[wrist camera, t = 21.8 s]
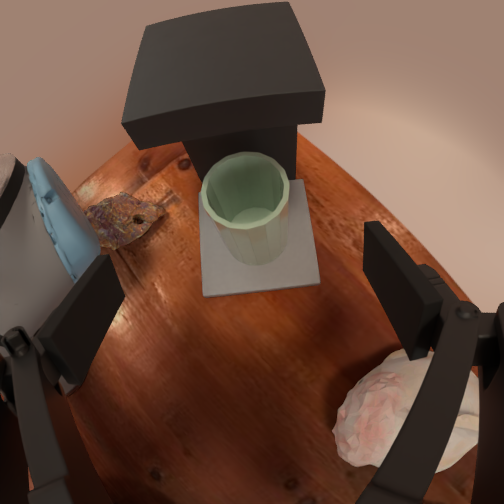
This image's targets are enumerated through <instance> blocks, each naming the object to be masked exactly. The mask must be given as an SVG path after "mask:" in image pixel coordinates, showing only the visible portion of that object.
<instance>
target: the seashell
mask: <svg viewBox="0 0 504 504" xmlns="http://www.w3.org/2000/svg"><path fill="white" fill-rule="evenodd" d="M433 354H434V352H431V351H429V353H428V356H427V357H425V358H421V359H417V360H413V361H409V358H408V356H407V354H406V352H405V350H404V349H401V350H398V351H395V352H393V353H391V354H390V355H389V356H388V357H387V358H386V359H385V360H384V362H383V363H382V364H381V365H379V366H377V367H376V368H374V369H373V370H372V371H370V372H369V373H368V374H367V375H365V376H364V377H363V378H362V379H361V380H359V381H358V382H357V384H356V385H355V387H354V388H353V389H351V390H350V391H349V392H348V393H347V397H346V399H345V401H344V403H343V404H342V406H341V407H340V408H339V409H338V414H337V422H336V424H335V426H334V428H333V430H332V432H333V433H334V435H335V441H336V444H337V451H338V454H339V457H342V459H343V460H345V461H346V462H349V463H350V464H351V465H353V466H356V467H359V466H364V465H368V464H371V465H374V466H377V467H380V465H381V463H382V462H383V460H384V458H385V457H386V455H387V453H388V451H389V450H390V448H391V446H392V444H393V442H394V440H395V439H396V437H397V435H398V433H399V431H400V429H401V427H402V425H403V423H404V421H405V419H406V417H407V415H408V413H409V411H410V409H411V407H412V405H413V402H414V400H415V398H416V396H417V394H418V391H419V389H420V387H421V384H422V382H423V380H424V377H425V375H426V372H427V370H428V367H429V365H430V362H431V360H432V357H433ZM478 433H479V380H478V378H477V377H476V376H475V374H474V373H473V372H472V371H470V375H469V379H468V383H467V386H466V390H465V393H464V397H463V400H462V403H461V407H460V410H459V413H458V416H457V419H456V422H455V425H454V428H453V430H452V433H451V436H450V438H449V441H448V444H447V446H446V449H445V451H444V454H443V456H442V458H441V461H440V463H439V465H438V468H437V470H436V472H440V471H442V470H445V469H447V468H449V467H451V466H452V465H453V464H454V463H456V462H457V461H458V460H459V459H460V458H461V457H462V456H463V455H464V454H465V453H466V452H468V451H469V450H470V449H471V448H473V447H474V446H475V445H476V444H477V443H478ZM436 472H435V473H436Z"/></svg>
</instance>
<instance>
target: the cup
mask: <svg viewBox="0 0 504 504" xmlns="http://www.w3.org/2000/svg"><path fill="white" fill-rule="evenodd" d="M201 197H202V202H203V206H204V209H205V211H206V212H207V214H208V216H209V218H210V220H211V221H212V223H213V225H214V227H215V228H216V230H217V232H218V234H219V236H220V237H221V239H222V241H223V243H224V245H225V246H226V248H227V249H228V251H229V252H230V254H231V255H232V256H233V257H234V258H235V259H237V260H238V261H240V262H242V263H244V264H247V265H254V266H257V265H264V264H267V263H270V262H272V261H273V260H275V259H276V258H277V257H279V256H280V254H281V253H282V252H283V251H284V249H285V247H286V244H287V242H288V233H289V197H290V183H289V180H288V178H287V175H286V172H285V170H284V169H283V168H282V167H281V166H280V165H279V164H278V163H277V162H276V161H275V160H274V159H273V158H271V157H269V156H266V155H264V154H262V153H259V152H239V153H236V154H232V155H228V156H226V157H224V158H223V159H221V160H220V161H219V162H217V163H216V164H214V165H213V166H212V168H211V169H210V170H209V172H208V173H207V175H206V176H205V177H204V180H203V185H202V189H201Z"/></svg>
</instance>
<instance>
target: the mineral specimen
mask: <svg viewBox="0 0 504 504" xmlns="http://www.w3.org/2000/svg"><path fill="white" fill-rule="evenodd" d="M165 211H166V210H165V209H164V208H163V207H160V206H158V205H156V204H153V203H151V202H142V201H139V200H138V199H136V198H134V197H132V196H131V195H129V194H127V193H124V192H120V194H119V195H116V196H114V197H110V198H106V199H104V200H103V201H101V202H100V203H98V204H97V205H93V206H90V207H89V208H88V209H87V210H85V211H84V214H85V215H86V217H87V219H88V220H89V222H90V223H91V225H92V227H93V229H94V230H95V232H96V234H97V237H98V239H99V242H100V247H102V246H104V247H106V248H110V249H112V250H115V249H117V248H119V247H121V246H125V245H126V244H128V243H130V242H132V241H134V240H135V239H137V238H139V237H141V236H142V235H143V234H144V233H145V232H146V231H147V230H148V229H149V227H150V226H151V225H152V222H154V221H156V220H157V218H158V217H159V216H162V215H164V214H165ZM139 218H140V219H141V220H143V221H144V222H143V223H142V224H137V220H138V219H139Z"/></svg>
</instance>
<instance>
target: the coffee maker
mask: <svg viewBox="0 0 504 504" xmlns="http://www.w3.org/2000/svg"><path fill="white" fill-rule="evenodd" d="M324 100H325V87H324V85H323V82H322V79H321V77H320V74H319V72H318V69H317V66H316V64H315V61H314V59H313V56H312V54H311V51H310V49H309V46H308V44H307V41H306V39H305V37H304V34H303V32H302V30H301V28H300V25H299V23H298V21H297V19H296V16H295V14H294V12H293V10H292V8H291V6H290V4H289V2H275V3H263V4H253V5H244V6H238V7H230V8H223V9H218V10H212V11H206V12H201V13H196V14H192V15H187V16H182V17H178V18H174V19H170V20H166V21H163V22H159V23H155V24H152V25H148V26H146V28H145V31H144V34H143V38H142V41H141V44H140V47H139V51H138V55H137V58H136V62H135V65H134V69H133V73H132V77H131V81H130V85H129V89H128V94H127V98H126V103H125V107H124V112H123V117H122V122H121V124H122V126H123V127H124V129H126V131H127V133H128V135H129V136H130V137H131V139H132V140H133V142H134V143H135V145H136V146H137V148H138V149H139V150H143V149H148V148H152V147H157V146H161V145H166V144H171V143H176V142H181V141H182V143H183V145H184V147H185V149H186V151H187V153H188V155H189V157H190V159H191V161H192V164H193V166H194V168H195V170H196V172H197V174H198V176H199V178H200V180H201V182H202V184H203V180H204V177H205V176H206V175H207V173H208V172H209V170H210V169H211V168H212V166H213V165H214V164H216V163H217V162H219V161H220V160H221V159H223V158H224V157H226V156H228V155H232V154H236V153H239V152H259V153H262V154H264V155H266V156H269V157H271V158H273V159H274V160H275V161H276V162H277V163H278V164H279V165H280V166H281V167H282V168H283V169H284V170H285V172H286V175H287V178H288V180H289V183H290V197H289V233H288V242H287V244H286V247H285V249H284V251H283V252H282V253H281V254H280V256H279V257H277V258H276V259H275V260H273V261H272V262H270V263H267V264H264V265H257V266H254V265H247V264H244V263H242V262H240V261H238V260H237V259H235V258H234V257H233V256H232V255H231V254H230V252H229V251H228V249H227V248H226V246H225V245H224V243H223V241H222V239H221V237H220V236H219V234H218V232H217V230H216V228H215V227H214V225H213V223H212V221H211V220H210V218H209V216H208V214H207V212H206V211H205V209H204V206H203V202H202V197H201V192H199V225H200V250H201V270H202V288H203V296H204V297H205V298H209V297H219V296H229V295H238V294H248V293H257V292H265V291H274V290H282V289H291V288H299V287H307V286H314V285H320V283H321V282H320V275H319V268H318V262H317V255H316V249H315V243H314V237H313V231H312V225H311V220H310V214H309V208H308V203H307V198H306V192H305V187H304V182H303V179H297V180H295V176H296V151H297V125H300V124H312V123H321V122H322V117H323V107H324Z"/></svg>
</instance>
